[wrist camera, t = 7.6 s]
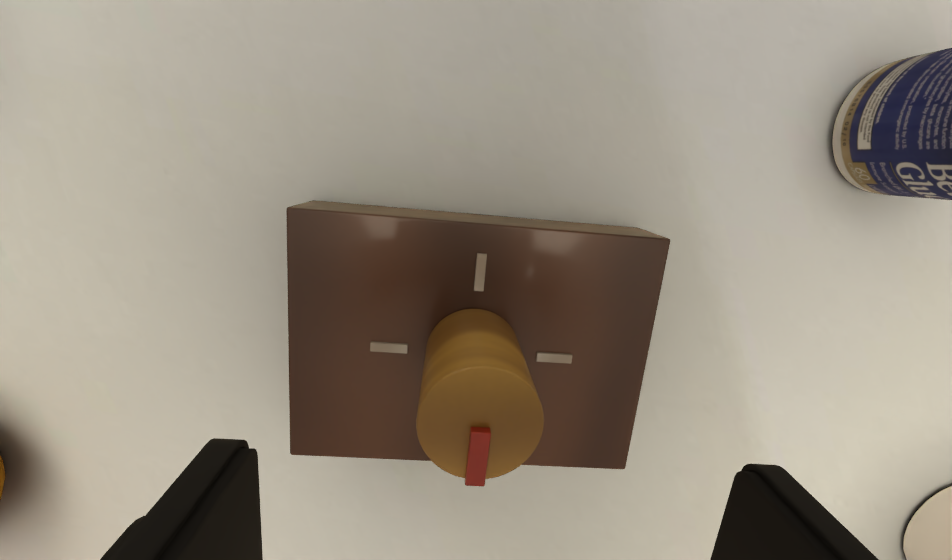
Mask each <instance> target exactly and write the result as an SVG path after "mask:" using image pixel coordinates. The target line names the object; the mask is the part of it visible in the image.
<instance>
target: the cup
mask: <svg viewBox="0 0 952 560" xmlns="http://www.w3.org/2000/svg"><path fill="white" fill-rule="evenodd" d="M903 550H904V553H905V556H906V559H907V560H952V486H950V487H948V488H946V489H944V490H942V491H940V492H939V493H937V494H936V495H934V496H933V497H931V498H930V499H928V500H927V501H926V502H925V503H924V504H923V505H922V506H921V507H920V508H919V509H918V510H917V511H916V513H915V514H914V516H913V517H912V519H911V521H910V522H909V524H908V526H907V529H906V532H905V535H904V544H903Z"/></svg>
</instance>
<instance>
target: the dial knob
mask: <svg viewBox="0 0 952 560" xmlns="http://www.w3.org/2000/svg"><path fill="white" fill-rule="evenodd" d="M543 427H544V413H543V408H542V404H541V402H540V399H539V396H538V394H537V391H536V388H535V386H534V383H533V380H532V377H531V375H530V372H529V369H528V367H527V364H526V361H525V359H524V356H523V353H522V350H521V348H520V345H519V342H518V340H517V337H516V334H515V333H514V331H513V329H512V328H511V326H510V325H509V324H508V323H507V322H506V321H505V320H504V319H503V318H501V317H500V316H498V315H497V314H495V313H492V312H490V311H487V310H482V309H464V310H460V311H457V312H454V313H452V314H450V315H448V316H447V317H445V318H444V319H442V320H441V321H440V322H439V323H438V324H437V325H436V326H435V328H434V329H433V331H432V332H431V334H430V336H429V338H428V342H427V346H426V353H425V360H424V367H423V375H422V382H421V389H420V396H419V404H418V411H417V418H416V429H417V436H418V439H419V442H420V444H421V446H422V449H423V450H424V452H425V453H426V455H427V456H428V457H429V458H430V459H431V461H432V462H433V463H435V464H436V465H437V466H438V467H440V468H441V469H443V470H444V471H446V472H448V473H450V474H453V475H455V476H458V477H462V478H465V485H467V486H484V485H485V479H489V478H494V477H498V476H501V475H504V474H506V473H508V472H510V471H512V470H514V469H516V468H517V467H519V466H520V465H521V464H522V463H524V462H525V461H526V460H527V459H528V458H529V457H530V456H531V454H532V453H533V452H534V450H535V449H536V447H537V445H538V443H539V441H540V438H541V436H542V432H543Z"/></svg>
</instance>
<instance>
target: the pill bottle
mask: <svg viewBox="0 0 952 560" xmlns="http://www.w3.org/2000/svg"><path fill="white" fill-rule="evenodd" d="M832 143H833V154H834V158H835V162H836V164H837V167H838V169H839V170H840V172H841V174H842V175H843V176H844V177H845V178H846V179H847V180H848V181H849V182H850V183H851V184H853V185H854V186H856V187H858V188H860V189H862V190H865V191H868V192H871V193H877V194H884V195H895V196H908V197H921V198H934V199H945V200H952V48H949V49H945V50H941V51H936V52H932V53H927V54H923V55H918V56H914V57H910V58H906V59H902V60H899V61H896V62H893V63H890V64H887V65H885V66H883V67H881V68H879V69H877V70H875V71H873V72H872V73H870V74H869V75H868V76H866V77H865V78H864V79H863V80H861V81H860V82H859V83H858V84H857V85H856V86H855V87H854V88H853V90H852V91H851V92H850V93H849V95H848V96H847V98H846V99H845V101H844V103H843V104H842V106H841V108H840V110H839V113H838V115H837V118H836V121H835V125H834V130H833V141H832Z"/></svg>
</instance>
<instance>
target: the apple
mask: <svg viewBox="0 0 952 560" xmlns="http://www.w3.org/2000/svg"><path fill="white" fill-rule="evenodd" d="M4 481H5V470H4V464H3V459H2V457H1V456H0V500H1V497H2V491H3V486H4Z"/></svg>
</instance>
